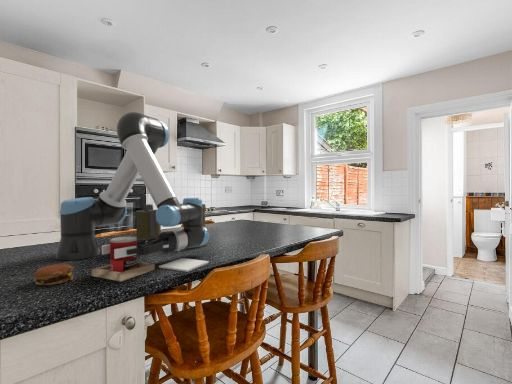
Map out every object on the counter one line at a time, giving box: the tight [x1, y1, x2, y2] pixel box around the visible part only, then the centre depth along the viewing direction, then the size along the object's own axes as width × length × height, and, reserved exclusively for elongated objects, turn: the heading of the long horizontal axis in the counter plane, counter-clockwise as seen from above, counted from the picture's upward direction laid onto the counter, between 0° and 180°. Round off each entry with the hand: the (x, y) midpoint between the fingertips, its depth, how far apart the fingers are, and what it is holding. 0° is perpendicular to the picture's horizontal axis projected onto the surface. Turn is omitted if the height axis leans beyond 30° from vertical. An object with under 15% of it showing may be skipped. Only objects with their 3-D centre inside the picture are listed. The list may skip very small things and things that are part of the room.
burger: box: [33, 263, 74, 286], centre depth 83 cm, size 10×9×5 cm
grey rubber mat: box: [158, 257, 209, 273], centre depth 100 cm, size 12×12×1 cm
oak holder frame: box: [91, 260, 155, 282], centre depth 91 cm, size 13×13×2 cm
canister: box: [135, 203, 162, 240], centre depth 125 cm, size 11×10×20 cm
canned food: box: [109, 236, 138, 273], centre depth 91 cm, size 8×8×11 cm
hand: (108, 251), depth 87 cm, fingers closed on canned food, 8 cm apart
